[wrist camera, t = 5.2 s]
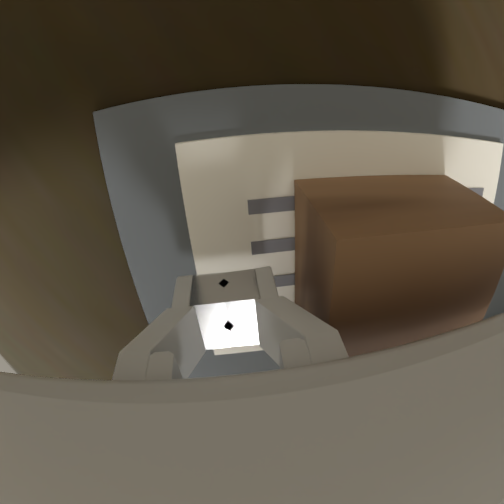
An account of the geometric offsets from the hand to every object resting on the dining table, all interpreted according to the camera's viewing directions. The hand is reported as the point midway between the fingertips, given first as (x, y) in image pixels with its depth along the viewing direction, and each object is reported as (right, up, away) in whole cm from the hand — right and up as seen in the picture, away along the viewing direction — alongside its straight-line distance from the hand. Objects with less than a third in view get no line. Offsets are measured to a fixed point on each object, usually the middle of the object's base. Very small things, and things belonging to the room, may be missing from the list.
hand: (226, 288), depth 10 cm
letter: (+5, +1, +1) cm, 6 cm away
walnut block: (+5, +1, +1) cm, 6 cm away
